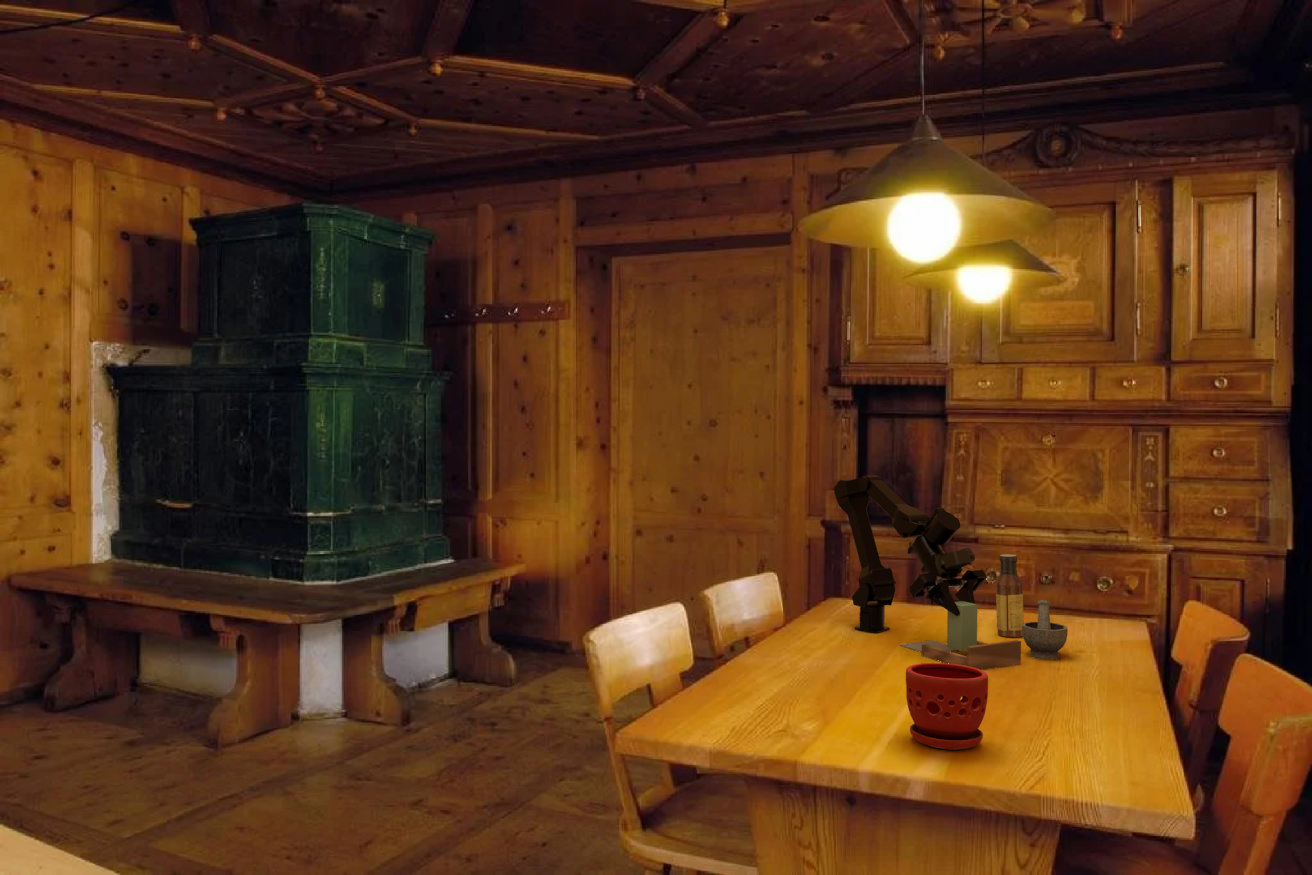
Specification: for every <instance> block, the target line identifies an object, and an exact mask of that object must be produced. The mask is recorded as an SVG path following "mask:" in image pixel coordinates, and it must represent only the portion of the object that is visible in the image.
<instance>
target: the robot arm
mask: <svg viewBox="0 0 1312 875" xmlns="http://www.w3.org/2000/svg"><path fill="white" fill-rule="evenodd" d="M883 480H884V479H883V478H882V477H881V476H880V475H876V474H875V475H874V474H873V475H863V476H861V477H859V478H854V479H840V480H838V481H837V482H836V485H835V486H834V489H833V490H834V491H833V493H834V496H835V498H836V502H837V504H838V506H839V507H840V509H841V510H843V512H844V513H845V514H846V515H847V517H848V521H849V522H848V523H849V524H850V525H849V526H850V529H851V533H852V538H853V540H854V541H853V542H854V544H855V548H856V553H857V556H858V559H859V563H860V568H861V569H860V573H859V577H858V586H859V587H858V588H857V589H856V591H855V592H854V593H853V595H852V597H851V600H852V604H853V606H857V607H859V625H858V626H854V629H855V630H857V631H858V630H859V631H864V632H869V633H875V634H878V633H881V632H885V631H890V629H891V628H890V626H885V619H886V618H885V613H886V612H885V609H886V608H885V606H886V607H887V606H892V604H893V602H894V597H895V593H896V583H897V582H896V581H895V578H894V573H893V570H892V569H891V567H885V566H884V565H883V564H882V562H881V558H880V554H879V551H878V547H877V543H876V539H875V536H874V533H873V529H872V526H871V521H870V517H869V514H868V507H869V504H870V499H873V501H874V502H875V503H876V504H877V505H878V506H879V507H880V508H881V509H882V510H883V512H885V513H886V514H887V515H888V516H889V517H890V518H891V522H892V526H893V528H894V529H895V531H896V532H897V534H898V535H899V536H900V537H902V538H904V539H906V538H907V539H908V538H911V539H912V538H915V539H914V540H913V541H912V542H911V541H910V542H909V543H908V544H909V546H908V547H907V554H908V555H913V554H916V556H917V557H918V559H919V561H920V563H921V564H922V567H921V568H920V569H921V570H920V571H921V572H922V573H919V574H918V575H917V576H916V577H915V578H914V580H913V581H912V583H911V584H910V585H909V592H910V595H911V596H912V597H913V599H917V598H923V597H924V596H925V593H926V592H925V591H924V589H926V591H927V595H926V596H925V599H926V600H930V601H932V602H933V603H935V604H937V605H939V606H940V607H942V608H944V609H945V610H946V611H947V612H948V611H950V612H951V613H953V614H954V615H956V616H959V614H960V612H959V609H958V607H957V605H956V603H955V602H956V601H955V599H954V598H953V597H952V594H951V592H950V588H952V587H954V588H955V590H956V591H957V592H956V593H955V594H954V597H955V598H957V600H958V601H965V602H969V603H973V604H976V600H975V596H974V592H976V591H977V590H978V588H980V587H981V585H982V584H983V583H984V582H985V581H986V579H988V576H987V575H986V573H985V571H984V569H980V568H975V569H967V570H966V571H965V573H964V574H962V576H959V574H961V573H962V572H963V568H964V567H965V566H966V567H967V566H970V565H972V564H973V562H974V561H975V560H976V557H975V553H974V551H973V550H972V549H971V548H970V547H964V548H963V549H959V550H954V551H951V552H948V553H945V551H944V550H943V548H942V547H941V546H945V545H947V544H948V543H949V542H950V540H952V538H953V537H954V535H956V533H957V532H958V531H959V529H960V528H961V522H960V520H959V518H958V517H956V516H955V515H954V514H952V513H950V512H948V511H946V509H945V508H944V507H942V508H941V507H938V508H935V510H934V511H933V513H932V515H931V516H930V517H929V514H927V513H925V512H923V511H922V510H921V509H919V508H917V507H914V506H911V505H908V504H907V503H906V502H905V501H904V500H903V499H902V498H901V497H900V496H898V494H897V493H895V492H894V490H893V489H891V488H890V487H889V486H888V485H887V484H886V483H885V482H884V481H883Z"/></svg>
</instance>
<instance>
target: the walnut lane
mask: <svg viewBox="0 0 1312 875" xmlns="http://www.w3.org/2000/svg"><path fill="white" fill-rule="evenodd" d="M922 655H923V656H922ZM921 656H922V657H924V656H925V657H924V658H927V657H928V659H930V658H931V659H930V660H933V659H936V660H935V661H937V660H939V661H938V662H940V661H941V662H940V663H943V662H944V663H949V664H958V665H965V666H970V667H974V668H977V669H980V670H982V669H983V671H984V670H988V668H991V669H996V668H995V667H997V668H1003V667H1010V666H1017V664H1018V665H1021V664H1022V661H1021V660H1022V641H1021V640H1018V639H1015V640H1014V639H1013V640H1006V641H999V642H993V643H987V642H983V641H979V640H977V645H975V646H968V647H967V651H966V655H963V654H959V653H956V652H955V651H954V652H950V651H947V650H944V649H940V648H937V647H934V646H930V645H927V644H923V645H922V652H921Z"/></svg>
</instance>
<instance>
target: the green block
mask: <svg viewBox="0 0 1312 875" xmlns="http://www.w3.org/2000/svg"><path fill="white" fill-rule="evenodd" d="M955 603H956V605H957V607H958V609H959V612H960V614H959V616H956V615H954V614H953V613H951V612H950V611H948V610H947V616H946V617H947V623H946V624H947V625H946V629H947V630H946V633H947V634H946V644H947V647H949V648H952V649H955V650H959V651H960V652H967V647H968V646H975V645H977V641H978V604H977V603H975V604H973V603H969V602H965V601H960V600H958V601H955ZM959 651H958V652H959Z"/></svg>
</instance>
